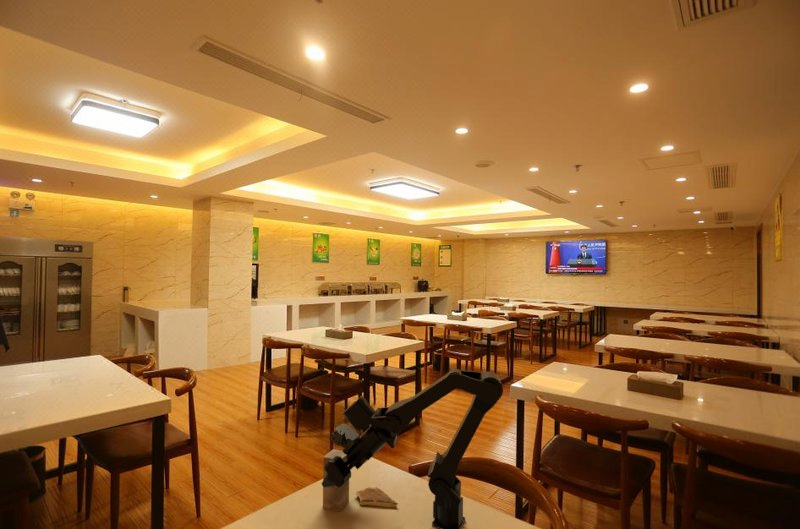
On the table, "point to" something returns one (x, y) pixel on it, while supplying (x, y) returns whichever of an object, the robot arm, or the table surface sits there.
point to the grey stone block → (333, 494)
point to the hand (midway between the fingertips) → (332, 476)
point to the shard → (375, 497)
